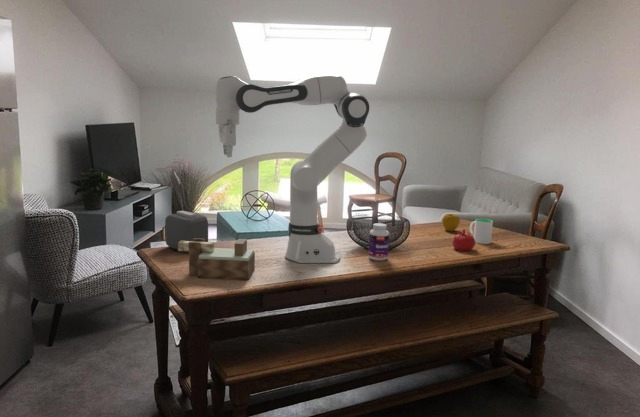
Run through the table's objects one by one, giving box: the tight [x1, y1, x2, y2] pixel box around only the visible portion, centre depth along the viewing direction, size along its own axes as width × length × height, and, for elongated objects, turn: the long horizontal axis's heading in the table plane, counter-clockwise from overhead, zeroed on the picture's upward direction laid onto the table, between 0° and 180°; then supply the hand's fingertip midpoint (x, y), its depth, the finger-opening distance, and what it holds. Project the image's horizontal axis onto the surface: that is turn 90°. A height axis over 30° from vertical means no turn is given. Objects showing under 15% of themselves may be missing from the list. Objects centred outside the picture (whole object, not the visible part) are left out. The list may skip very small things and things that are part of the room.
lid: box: [199, 238, 255, 261], centre depth 193 cm, size 17×11×6 cm, turn 87°
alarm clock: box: [164, 210, 209, 253], centre depth 225 cm, size 16×11×16 cm
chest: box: [188, 238, 256, 281], centre depth 194 cm, size 22×12×12 cm, turn 87°
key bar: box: [177, 240, 215, 252], centre depth 194 cm, size 12×4×3 cm, turn 87°
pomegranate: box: [451, 229, 476, 252], centre depth 240 cm, size 10×10×9 cm
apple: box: [442, 213, 460, 232], centre depth 277 cm, size 9×8×9 cm
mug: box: [468, 218, 494, 245], centre depth 257 cm, size 12×8×10 cm, turn 36°
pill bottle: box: [367, 222, 390, 262], centre depth 220 cm, size 8×8×14 cm
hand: (227, 155), depth 207 cm, fingers open, 8 cm apart
